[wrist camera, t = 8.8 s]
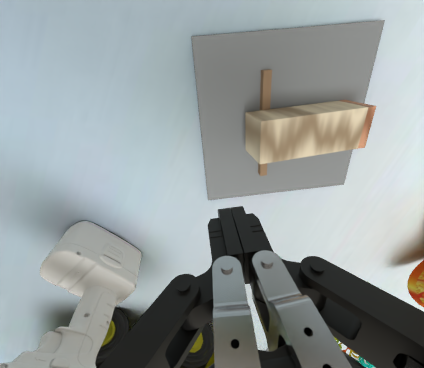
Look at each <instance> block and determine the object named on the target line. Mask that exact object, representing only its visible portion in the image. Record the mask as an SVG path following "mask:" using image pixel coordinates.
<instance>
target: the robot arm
mask: <svg viewBox="0 0 424 368" xmlns="http://www.w3.org/2000/svg"><path fill="white" fill-rule="evenodd" d="M208 231H209V239H210V247H211V254H212V265H211V267H210V268H209V270H208V271H206V272H205V273H204V274H202V275H200V276H197V277H195V276H193V275H190V274H182V275H179V276H177V277H175V278H174V279H173V280H172V281H171V282H170V284H169V285H168V286H167V287H166V288H165V289H164V291H163V292H162V293H161V294H160V295H159V297H158V298H157V299H156V300H155V301H154V302H153V304H152V305H151V306H150V307H149V308H148V310H147V311H146V312H145V313H144V314H143V316H142V317H141V318H140V319H139V320H138V321H137V323H136V324H135V325H134V326H133V327H132V329H131V330H130V331H129V332H128V333H127V335H126V336H125V337H124V338H123V339H122V340H121V342H120V343H119V344H118V345H117V346H116V348H115V349H114V350H113V351H112V352H111V353H110V355H109V356H108V357H107V358H106V359H105V361H104V362H103V363H102V364H101V365H100V367H99V368H180V367H181V365H182V363H183V362H184V360H185V358H186V357H187V355H188V353H189V352H190V350H191V348H192V347H193V345H194V343H195V342H196V340H197V338H198V337H199V335H200V333H201V332H202V330H203V328H204V326H205V324H207V323H208V322H210V321H212V320H213V332H214V364H212V365H211V366H209V367H208V368H366V367H364V366H363V365H362V364H360V363H359V362H358V361H357V360H355V359H354V358H353V357H351V356H349V355H348V354H346V353H345V352H343V351H342V350H341V348H340V347H339V345H338V343H337V342H336V340H335V338H336V339H337V340H339V341H340V342H341V343H343V344H344V345H346V346H347V347H348V348H350V349H351V350H352V351H354V352H355V353H357V354H358V355H359V356H361V357H362V358H363V359H365V360H366V361H368V362H369V363H370V364H372V365H373V366H374V367H376V368H424V312H423V311H421V310H419V309H417V308H415V307H414V306H412V305H410V304H408V303H406V302H404V301H402V300H400V299H398V298H396V297H395V296H393V295H391V294H389V293H387V292H385V291H383V290H381V289H379V288H377V287H376V286H374V285H372V284H370V283H368V282H366V281H364V280H362V279H360V278H358V277H357V276H355V275H353V274H351V273H349V272H347V271H345V270H343V269H341V268H339V267H338V266H336V265H334V264H332V263H330V262H328V261H326V260H324V259H322V258H320V257H316V256H309V257H306V258H304V259H303V260H302V261H301V263H298V262H291V261H286V260H283V259H281V258H280V257H279V256H278V255H277V254H276V253H274V252H273V250H272V248H271V246H270V243H269V241H268V239H267V237H266V234H265V232H264V230H263V228H262V226H261V223H260V221H259V219H258V218H257V217H256V216H255V215H254V214H253V213H252V214H246V213H245V211H244V208H243V206H240V207H232V208H225V209H218V218H215V219H210V221H209V224H208ZM244 282H245V284H250V285H251V289H252V299H253V302H254V304H255V307H256V310H257V313H258V316H259V318H260V321H261V324H262V327H263V330H264V332H265V335H266V339H267V344H268V349H269V351H262V350H258V349H257V343H256V338H255V332H254V326H253V321H252V315H251V310H250V306H248V301H247V296H246V290H245V284H244ZM334 337H335V338H334Z"/></svg>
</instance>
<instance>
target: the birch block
mask: <svg viewBox="0 0 424 368" xmlns="http://www.w3.org/2000/svg"><path fill="white" fill-rule="evenodd" d="M375 109H376V106H373V105H368V104H363V103H358V102H353V101H348V100H340V101H332V102H324V103H316V104H308V105H300V106H292V107H284V108H276V109H269V110H261V111H253V112H245V141H246V151H247V152H248V153H249V154H250V155H251V156H252V157H253V158H254V159H255V160H256V161H257V162H258V163H259V164H266V163H272V162H278V161H284V160H290V159H296V158H302V157H309V156H315V155H321V154H327V153H333V152H339V151H345V150H352V149H358V148H364V147H365V145H366V141H367V138H368V134H369V130H370V127H371V123H372V119H373V116H374V112H375Z"/></svg>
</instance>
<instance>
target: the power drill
mask: <svg viewBox="0 0 424 368" xmlns="http://www.w3.org/2000/svg"><path fill="white" fill-rule="evenodd" d="M141 257H142V254H141V252H140V251H139V250H138V249H137V248H135V247H134V246H132V245H131V244H129V243H128V242H126V241H124V240H123V239H121V238H119V237H117V236H116V235H114V234H112V233H111V232H109V231H107V230H105V229H104V228H102V227H100V226H98V225H96V224H94V223H92V222H89V221H81V222H78V223H76V224H74V225H73V226H71V227H70V228H69V229H68V230H67V231H66V232H65V234H64V235H63V237H62V238H61V239H60V240H59V242H58V243H57V244H56V246H55V247H54V248H53V249H52V251H51V252H50V253H49V254H48V256H47V257H46V259H45V260H44V261H43V263H42V265H41V268H40V275H41V276H42V278H44V279H45V280H46V281H48V282H50V283H52V284H53V285H55V286H56V285H57V286H60V287H62V288H64V289H66V290H68V292H70V293H72V294H74V295H77V296H79V297H81V299H80V302H79V304H78V306H77V308H76V310H75V312H74V314H73V317H72V319H71V322H70V324H69V327H62V326H61V327H58V328H56V329H55V330H54V331H48V332H47V333H46V334H44V335H43V336H42V337H41V340H40V344H39V347H38V349H37V350H35V351H33V352H30V351H26V352H23V353H21V354H20V355H19V356H18V357H17V358H16V359H14V360H13V361H12V362H9V363H0V368H96V365H95V362H96V357H97V354H98V352H99V349H100V347H101V345H102V343H103V341H104V339H105V336H106V334H107V331H108V328H109V325H110V322H111V319H112V315H113V311H114V308H115V306H116V305H117V304H119V303H121V302H122V301H123V300H125V299H126V298H127V297H128V296H129V295H130V294H131V293H132V292H133V291H134V290H135V288H136V284H137V278H138V272H139V267H140V262H141Z"/></svg>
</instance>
